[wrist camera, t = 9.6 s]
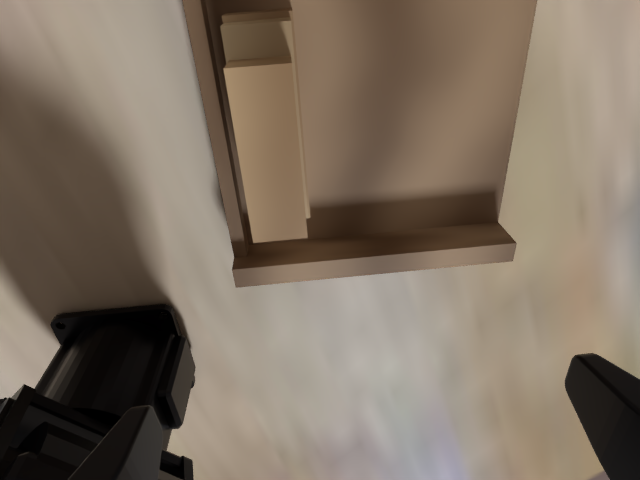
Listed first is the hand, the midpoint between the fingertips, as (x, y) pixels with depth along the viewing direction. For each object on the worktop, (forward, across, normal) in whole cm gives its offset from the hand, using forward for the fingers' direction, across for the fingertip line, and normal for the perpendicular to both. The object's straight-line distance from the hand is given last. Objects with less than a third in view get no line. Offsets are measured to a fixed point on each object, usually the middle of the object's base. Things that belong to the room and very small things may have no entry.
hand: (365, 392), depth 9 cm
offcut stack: (+12, +2, -3) cm, 12 cm away
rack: (+13, -2, -3) cm, 13 cm away
